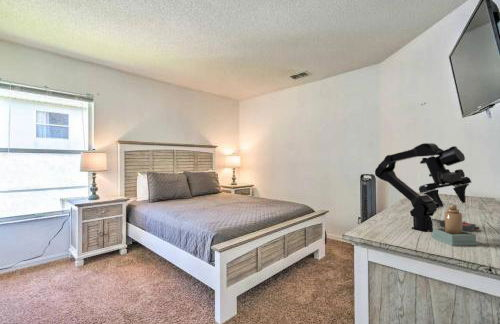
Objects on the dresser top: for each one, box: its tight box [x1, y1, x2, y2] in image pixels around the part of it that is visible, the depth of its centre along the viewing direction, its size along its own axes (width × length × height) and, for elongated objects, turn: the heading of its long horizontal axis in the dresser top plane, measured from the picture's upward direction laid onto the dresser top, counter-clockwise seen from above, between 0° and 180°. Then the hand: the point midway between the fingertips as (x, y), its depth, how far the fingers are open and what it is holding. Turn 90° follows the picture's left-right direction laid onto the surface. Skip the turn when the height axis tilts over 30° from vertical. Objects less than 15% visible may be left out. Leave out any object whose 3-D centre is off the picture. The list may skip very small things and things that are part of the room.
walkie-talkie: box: [431, 218, 480, 233], centre depth 117 cm, size 9×4×20 cm
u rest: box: [431, 228, 480, 247], centre depth 96 cm, size 10×10×4 cm
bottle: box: [444, 204, 463, 235], centre depth 96 cm, size 5×5×13 cm
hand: (452, 204), depth 102 cm, fingers open, 9 cm apart
